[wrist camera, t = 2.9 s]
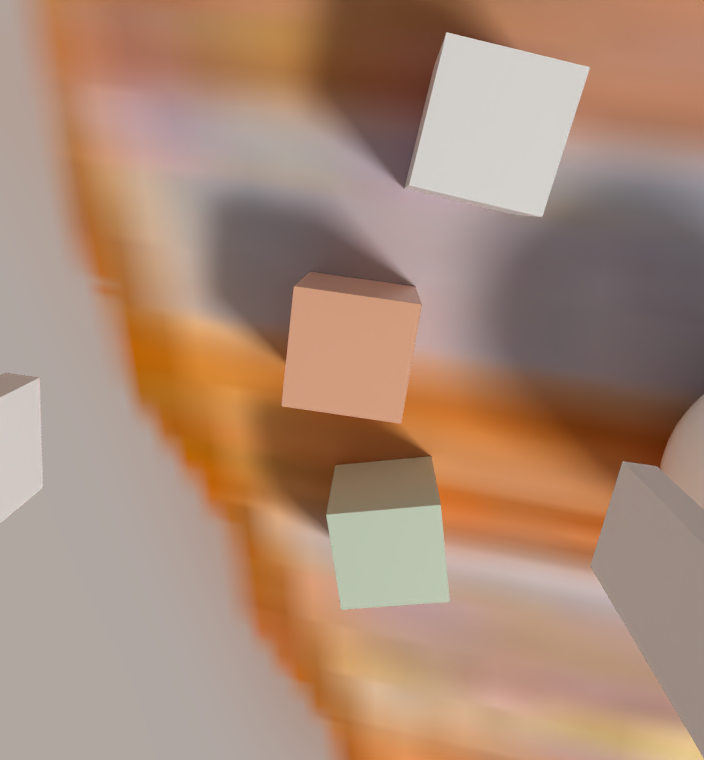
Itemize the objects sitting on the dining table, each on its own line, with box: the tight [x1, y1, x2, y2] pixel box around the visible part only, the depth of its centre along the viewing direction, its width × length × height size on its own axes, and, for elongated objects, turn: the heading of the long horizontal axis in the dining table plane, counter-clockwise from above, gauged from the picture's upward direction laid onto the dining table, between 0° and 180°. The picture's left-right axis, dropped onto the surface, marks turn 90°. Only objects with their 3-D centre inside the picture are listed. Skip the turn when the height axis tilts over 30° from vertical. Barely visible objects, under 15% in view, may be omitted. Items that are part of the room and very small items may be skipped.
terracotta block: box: [282, 272, 422, 424], centre depth 25 cm, size 5×5×5 cm
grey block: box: [404, 32, 590, 217], centre depth 22 cm, size 5×5×5 cm
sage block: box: [326, 456, 450, 610], centre depth 28 cm, size 5×5×5 cm
